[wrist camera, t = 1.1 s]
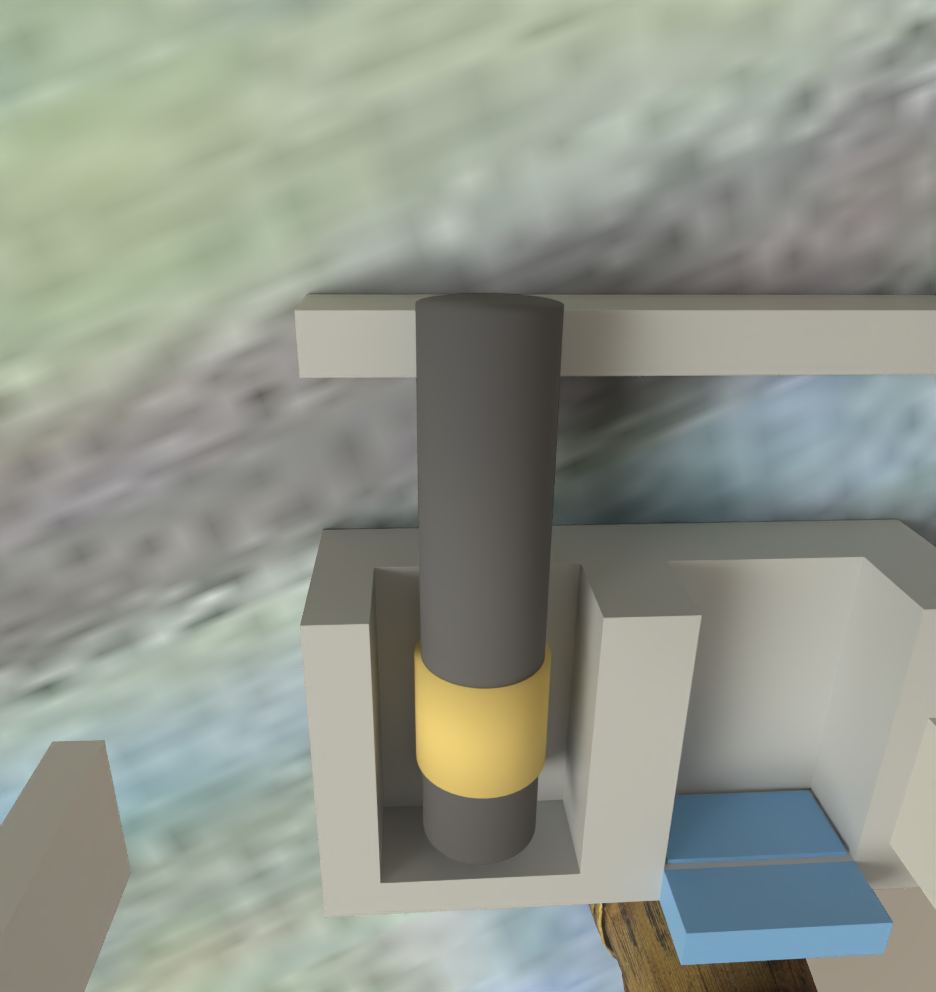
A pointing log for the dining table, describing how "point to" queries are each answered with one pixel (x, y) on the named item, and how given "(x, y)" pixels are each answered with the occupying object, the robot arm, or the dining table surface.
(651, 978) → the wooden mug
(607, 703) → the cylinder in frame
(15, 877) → the robot arm
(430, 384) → the rod
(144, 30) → the dining table surface
